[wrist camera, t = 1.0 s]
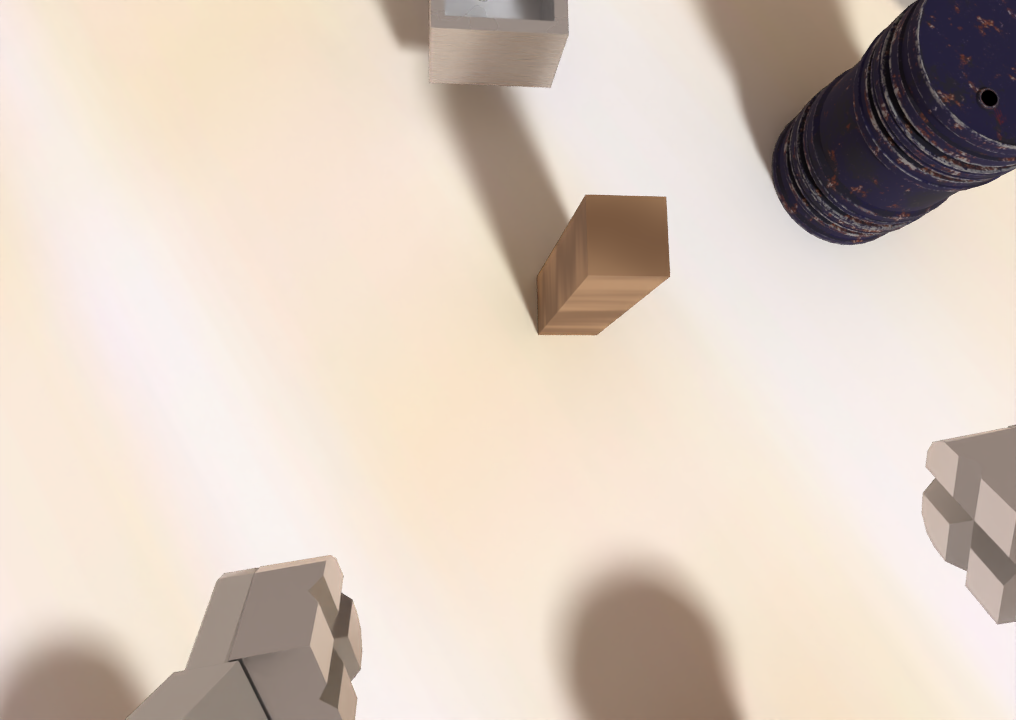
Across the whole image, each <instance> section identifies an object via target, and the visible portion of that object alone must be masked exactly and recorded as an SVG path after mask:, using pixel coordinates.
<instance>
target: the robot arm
mask: <svg viewBox="0 0 1016 720" xmlns="http://www.w3.org/2000/svg"><path fill="white" fill-rule="evenodd" d="M926 468H927V469H928V470H929V471H930V472H931V473H932V475H933V476H934V477H935V479H934V480H933V481H932V483H931V484H930V485H929V486H928V487H927V489H926V490H925V491H924V492H923V497H922V516H923V520H924V524H925V528H926V532H927V534H928V536H929V538H930V540H931V542H932V544H933V546H934V547H935V549H936V550H937V551H938V553H939V554H940V555H941V556H942V558H943V559H944V560H945V561H946V562H948V563H950V564H953V565H955V566H957V567H959V568H961V569H963V570H966V571H967V575H966V584H965V586H966V587H967V588H968V590H969V591H970V592H971V593H972V595H973V596H974V597H975V598H976V599H977V601H978V602H979V603H980V604H981V605H982V607H983V608H984V609H985V610H986V611H987V613H988V614H989V615H990V616H991V617H992V619H993V620H994V621H995V622H996V624H1003V623H1010V622H1016V425H1012V426H1008V427H1007V428H1002V429H996V430H991V431H986V432H981V433H976V434H971V435H966V436H960V437H955V438H950V439H945V440H940V441H935V442H932V444H931V446H930V448H929V449H928V451H927V458H926ZM343 577H344V576H343V573H342V571H341V569H340V566H339V564H338V562H337V559H336V558H335V557H333V556H331V555H328V556H322V557H316V558H310V559H303V560H297V561H291V562H285V563H279V564H273V565H267V566H261V567H260V568H252V569H246V570H241V571H235V572H229V573H224V574H223V575H222V576H221V577H220V578H219V579H218V580H217V582H216V584H215V587H214V590H213V592H212V595H211V598H210V601H209V604H208V606H207V609H206V612H205V615H204V618H203V620H202V623H201V626H200V629H199V632H198V634H197V637H196V640H195V643H194V645H193V648H192V651H191V654H190V657H189V659H188V662H187V665H186V668H185V670H184V671H179V672H174V673H173V674H172V675H171V676H170V677H168V678H167V679H166V680H165V681H164V682H163V683H162V684H161V685H160V686H159V687H158V688H157V689H156V690H155V691H154V692H153V693H152V694H151V695H150V696H149V697H148V698H147V699H146V700H145V701H144V702H143V703H142V704H141V705H139V706H138V707H137V708H136V709H135V710H134V711H133V712H132V713H131V714H130V715H129V716H128V717H127V718H126V719H125V720H355V714H356V705H357V696H356V693H355V691H354V688H353V686H352V683H351V681H352V680H353V678H354V677H355V676H356V675H357V673H358V672H359V671H360V670H361V659H362V639H361V627H360V623H359V618H358V614H357V611H356V608H355V605H354V602H353V600H352V599H350V598H349V597H347V596H346V595H344V594H343V593H341V590H342V583H343Z"/></svg>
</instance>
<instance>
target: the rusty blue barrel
mask: <svg viewBox="0 0 1016 720" xmlns="http://www.w3.org/2000/svg"><path fill="white" fill-rule="evenodd" d="M1014 169H1016V0H917V1H916V2H914V3H912V4H911V5H910V6H908V7H907V8H906V9H905V10H904V11H903V12H902V13H901V14H900V15H899V16H898V17H897V18H896V19H895V20H894V21H893V22H892V23H891V24H890V25H889V26H888V27H887V28H886V29H884V30H883V31H882V32H881V33H880V34H879V35H878V36H877V37H876V38H875V39H874V41H873V42H872V43H871V45H870V46H869V48H868V49H867V51H866V52H865V54H864V55H863V57H862V59H861V60H860V61H859V62H858V63H857V64H856V65H855V66H854V67H853V68H852V69H849V70H847V71H845V72H844V73H842V74H841V75H840V76H838V77H837V78H836V79H835V80H833V81H832V82H831V83H830V84H829V85H828V86H826V87H825V88H823V89H822V90H821V91H820V92H819V93H817V94H816V95H815V96H814V97H813V98H812V99H811V100H810V101H809V102H808V103H807V104H806V105H805V106H804V108H803V109H802V111H801V112H800V113H799V114H798V115H797V116H796V117H795V118H794V119H793V120H792V121H791V122H790V123H789V124H788V125H787V126H786V127H785V128H784V130H783V131H782V133H781V134H780V136H779V138H778V140H777V142H776V145H775V149H774V152H773V158H772V177H773V182H774V186H775V190H776V192H777V195H778V198H779V200H780V201H781V203H782V205H783V207H784V209H785V210H786V211H787V213H788V214H789V215H790V216H791V218H792V219H793V220H794V221H795V222H796V223H797V224H798V225H799V226H800V227H802V228H803V229H805V230H806V231H807V232H809V233H810V234H812V235H814V236H816V237H818V238H820V239H822V240H825V241H828V242H831V243H836V244H841V245H855V244H863V243H866V242H870V241H873V240H875V239H877V238H879V237H881V236H883V235H885V234H887V233H888V232H891V231H894V230H898V229H900V228H902V227H904V226H906V225H908V224H910V223H912V222H914V221H916V220H917V219H919V218H921V217H922V216H923V215H925V214H927V213H928V212H930V211H931V210H933V209H935V208H937V207H938V206H939V205H941V204H942V203H943V202H945V201H946V200H947V198H948V197H949V196H951V195H953V194H954V193H956V192H958V191H961V190H967V189H970V188H974V187H978V186H981V185H984V184H987V183H989V182H991V181H993V180H995V179H997V178H999V177H1000V176H1001V175H1004V174H1006V173H1008V172H1010V171H1012V170H1014Z"/></svg>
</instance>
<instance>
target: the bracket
mask: <svg viewBox="0 0 1016 720" xmlns="http://www.w3.org/2000/svg"><path fill="white" fill-rule="evenodd" d="M568 35H569V31H568V0H429V83H451V84H474V85H498V86H522V87H546V88H551V85H552V82H553V79H554V76H555V73H556V70H557V67H558V64H559V61H560V58H561V55H562V52H563V50H564V47H565V44H566V41H567V38H568Z"/></svg>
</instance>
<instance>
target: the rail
mask: <svg viewBox="0 0 1016 720" xmlns="http://www.w3.org/2000/svg"><path fill="white" fill-rule="evenodd" d="M669 277H670V266H669V245H668V224H667V204H666V197H656V196H618V195H585V197H584V198H583V200H582V202H581V203H580V205H579V207H578V208H577V210H576V212H575V213H574V215H573V217H572V219H571V220H570V222H569V224H568V225H567V227H566V229H565V230H564V232H563V234H562V235H561V237H560V239H559V240H558V242H557V244H556V246H555V247H554V249H553V251H552V252H551V254H550V256H549V257H548V259H547V261H546V262H545V264H544V266H543V267H542V269H541V271H540V273H539V274H538V276H537V299H538V335H597V334H599V333H600V332H601V331H602V330H604V329H605V328H606V327H607V326H609V325H610V324H611V323H612V322H614V321H615V320H616V319H617V318H619V317H620V316H621V315H622V314H624V313H625V312H626V311H627V310H629V309H630V308H631V307H633V306H634V305H635V304H636V303H638V302H639V301H640V300H641V299H643V298H644V297H645V296H646V295H648V294H649V293H650V292H651V291H653V290H654V289H655V288H656V287H658V286H659V285H660V284H661V283H663V282H664V281H665V280H666V279H668V278H669Z"/></svg>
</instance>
